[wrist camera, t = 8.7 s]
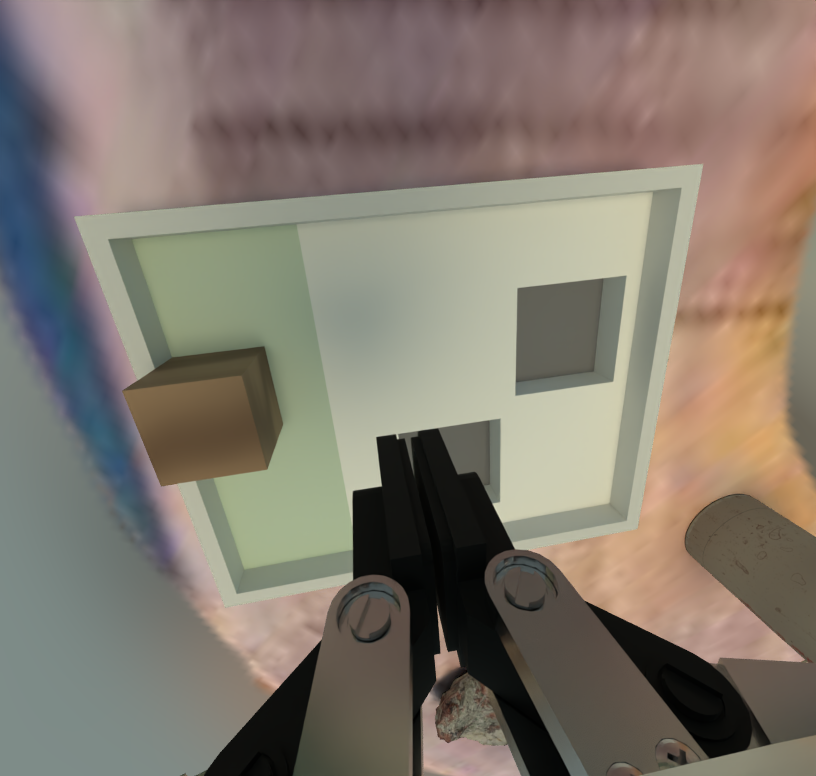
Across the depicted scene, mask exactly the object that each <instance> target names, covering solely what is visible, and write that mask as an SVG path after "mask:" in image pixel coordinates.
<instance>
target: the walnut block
mask: <svg viewBox="0 0 816 776" xmlns="http://www.w3.org/2000/svg"><path fill="white" fill-rule="evenodd" d="M122 392H123V394H124V396H125V399H126V401H127V404H128V406H129V409H130V411H131V414H132V416H133V419H134V421H135V423H136V426H137V428H138V431H139V433H140V436H141V438H142V441H143V443H144V446H145V448H146V450H147V453H148V455H149V458H150V460H151V463H152V465H153V468H154V470H155V472H156V475H157V477H158V480H159V482H160V485H161V486H166V485H173V484H179V483H186V482H192V481H198V480H205V479H211V478H218V477H224V476H230V475H237V474H243V473H250V472H256V471H262V470H267V469H268V466H269V464H270V461H271V458H272V455H273V452H274V449H275V446H276V444H277V441H278V438H279V435H280V432H281V429H282V426H283V421H282V417H281V413H280V409H279V405H278V400H277V396H276V392H275V388H274V384H273V380H272V376H271V371H270V367H269V363H268V359H267V355H266V351H265V347H264V346H262V347H254V348H246V349H238V350H230V351H221V352H213V353H205V354H197V355H189V356H181V357H173V358H171V359H169V360H168V361H166V362H165V363H163V364H162V365H160V366H159V367H157V368H156V369H154V370H153V371H151V372H150V373H148V374H147V375H145V376H144V377H142V378H141V379H139V380H138V381H136V382H135V383H133V384H132V385H130V386H129V387H127V388H126V389H124V390H123V391H122Z"/></svg>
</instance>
